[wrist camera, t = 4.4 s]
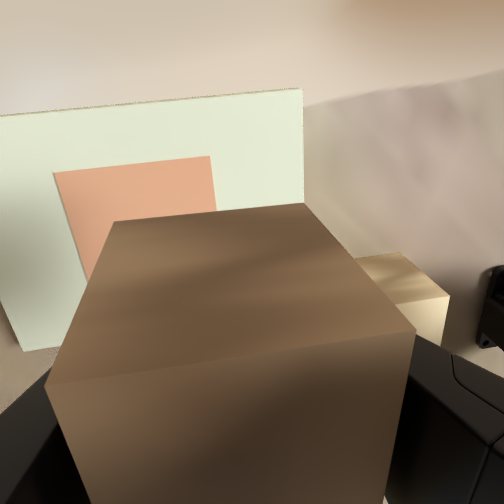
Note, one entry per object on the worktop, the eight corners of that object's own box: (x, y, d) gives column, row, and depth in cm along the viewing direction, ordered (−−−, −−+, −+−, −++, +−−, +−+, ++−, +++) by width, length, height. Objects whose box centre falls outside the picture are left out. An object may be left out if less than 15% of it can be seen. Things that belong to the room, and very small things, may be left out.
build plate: (296, 87, 18) (303, 88, 17) (300, 298, 23) (305, 308, 22) (-66, 121, 16) (-82, 124, 15) (30, 340, 22) (22, 352, 21)
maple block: (399, 251, 23) (449, 295, 18) (392, 312, 25) (436, 364, 21) (328, 262, 22) (362, 309, 18) (327, 322, 24) (358, 378, 20)
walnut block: (303, 202, 9) (416, 329, 5) (300, 345, 11) (377, 526, 7) (113, 221, 9) (44, 386, 4) (147, 368, 11) (124, 583, 6)
